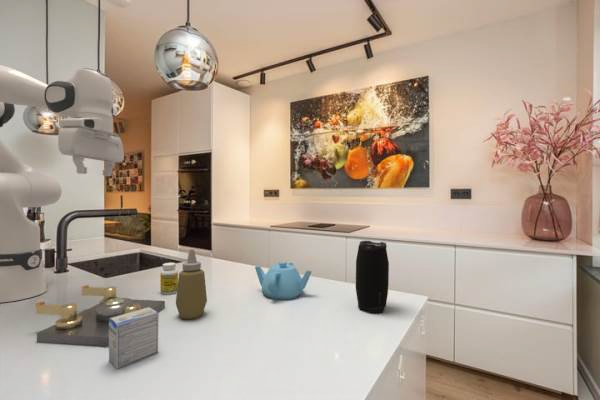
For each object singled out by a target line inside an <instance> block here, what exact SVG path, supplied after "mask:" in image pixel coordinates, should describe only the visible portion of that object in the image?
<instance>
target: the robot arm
mask: <svg viewBox="0 0 600 400" xmlns="http://www.w3.org/2000/svg"><path fill="white" fill-rule="evenodd" d="M15 105H17V106H24V107H25V106H29V107H35V108H45V109H49V110H50V112H52V113H55V114H57V115H59V116H63V117H66V118H60V119H59V121H58V124H59V126H60V127H61V128H60V129H59V131H58V141H57V142H58V143H57V144H58V145H57V146H58V150H59V152H60V154H62V155H64V156H69V157H70V156H71V157H72V162H73V163H74V165H75V167H76V174H79V175H80V174H81V175H84V174H85V175H86V174H87V173H88V167H87V166H86V167H85V164H84V162H83V161H85V159H89V160H95V161H101V162H104V164H105V168H104V169H102V175H103V176H104V177H111V176H112V175H113V173H112V171H113V169H114V167H115V165H116V164H115V163H123V162H124V160H125V154H124V153H125V152H124V146H123V145H124V144H123V142H122V138H121V137H120V136H119V134H118V133H116V132H114V93H113V84H112V81H111V78H110V77H109V76H108V75H106V74H104V73H103V72H101V71H98V70H95V69H92V68H87V67H81V68H79V69H77V70H76V72H75V73H74V74H73V75H72V76H70V77H69V78H65V79H63V80H57V81H53V82H51V83H50V84H47V83H45V82H43V81H41V80H39V79H36V78H34V77H32V76H30V75H28V74H26V73H24V72H22V71H19V70H18V69H15V68H13V67H9V66H6V65H2V64H0V128H2V127H4V125H5V124H7V123H8V122H9V121H10V120H11V119H12V118H13V117H14V115H15V110H16V109H15V108H16V107H15ZM62 194H63V193H62V186H61V184H60V183H59V181H57V179H55V178H53V177H50V176H47V175H45V174H43V173H42V172H40V171H38V170H36V169H35V168H33V167H31V166H30V165H28V164H26V162H24V161H23V160H21V159H20V158H18V157H16V155H15V154H13V153H12V151H10V149H9V148H8V147H7V146H6V144H5V143H3V141H2V140H1V139H0V303H7V302H14V301H21V300H26V299H29V298H30V299H31V298H33V297H36V296H39V295H42V294H44V293H46V292H47V291H48V288H47V287H48V283H47V282H45V281H46V280H45V273H44V265H43V263H42V261H43V256H44V255H43V250H42V249H41V227H40V225H39V224H38V223H37V222H35V221H34V220H31V219H29V218H28V217H27V215H26V214H25V212H24V208H41V207H46V206H49V205H53V204H56V203H57V202H58V201H59V200H60V198H61V197H62Z"/></svg>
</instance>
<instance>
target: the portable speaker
mask: <svg viewBox="0 0 600 400" xmlns="http://www.w3.org/2000/svg"><path fill="white" fill-rule="evenodd" d="M387 251H388V250H387V242H383V241H380V242H376V241H375V242H374V241H371V240H361V241H359V244H358V248H357V255H356V260H355V293H356V300H357V307H358V309H359V310H362V309H364V310H368V311H369V313H370V314H373V315H375V314H377V315H378V314H383V313H384V311H385V309H386V306H387V300H388V295H389V283H390V281H389V279H390V277H389V275H390V274H389V273H390V272H389V270H390V267H389V266H390V265H389V264H390V262H389V257H388V256H389V255H388V252H387Z"/></svg>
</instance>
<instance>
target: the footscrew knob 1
mask: <svg viewBox="0 0 600 400" xmlns="http://www.w3.org/2000/svg"><path fill="white" fill-rule="evenodd" d="M35 314H36V315H49V316H51V315H52V316H53V315H55V316H60V319H58V320H56V321H55V322H54V323H55V324H54V325H55V328H57V329H67V328H71V327H75V326H77V325H79V324H81V323H82V316H77V314H78V304H77V303H76V302H75V303H74V302H73V303H66V304H61V303H60V304H59V303H57V304H56V303H55V304H54V303H45V301H40V302H37V303H36V302H35Z"/></svg>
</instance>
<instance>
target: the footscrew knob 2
mask: <svg viewBox="0 0 600 400" xmlns="http://www.w3.org/2000/svg"><path fill="white" fill-rule="evenodd" d="M81 296H91V297H103V299H100V300H99V301H98V304H99V303H101V302H103V301H107V300H111V299H116V298H120V297H118V296H117V286H108V287H107V286H106V287H103V286H101V287H99V286H89V285H88V284H86V285H85V284H84V285H82V286H81Z"/></svg>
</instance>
